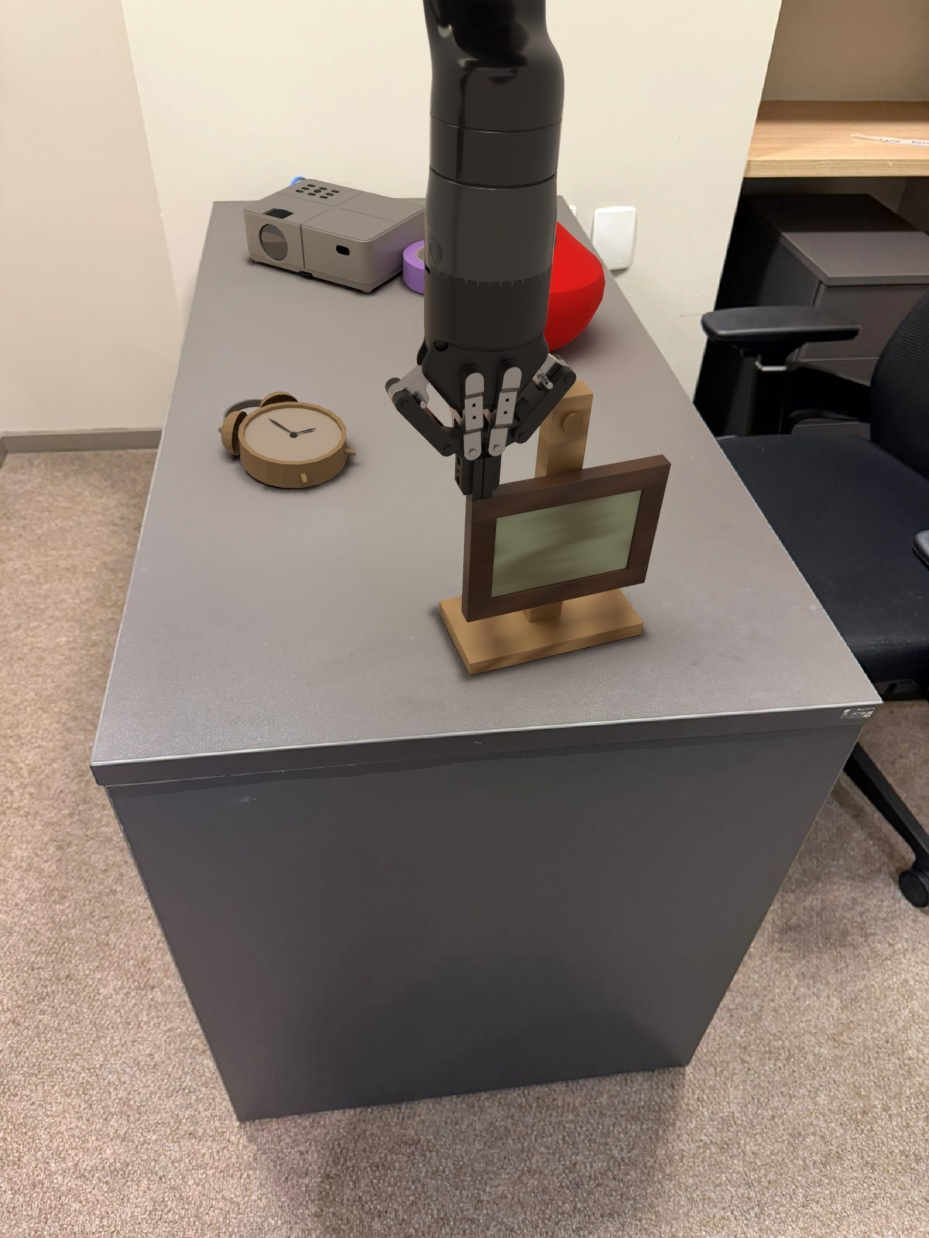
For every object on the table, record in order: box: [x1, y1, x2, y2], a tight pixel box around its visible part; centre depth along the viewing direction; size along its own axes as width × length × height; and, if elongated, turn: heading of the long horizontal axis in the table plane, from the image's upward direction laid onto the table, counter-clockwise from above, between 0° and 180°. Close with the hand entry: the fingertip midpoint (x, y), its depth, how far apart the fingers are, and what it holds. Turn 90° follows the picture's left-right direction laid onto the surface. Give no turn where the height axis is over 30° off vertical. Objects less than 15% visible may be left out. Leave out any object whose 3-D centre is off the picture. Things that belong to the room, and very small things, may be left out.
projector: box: [242, 178, 425, 294], centre depth 132 cm, size 17×22×8 cm
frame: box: [461, 453, 672, 623], centre depth 70 cm, size 16×1×12 cm, turn 110°
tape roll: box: [402, 240, 424, 295], centre depth 130 cm, size 12×12×4 cm
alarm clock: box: [217, 391, 357, 489], centre depth 96 cm, size 11×5×15 cm
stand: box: [438, 379, 644, 676], centre depth 71 cm, size 16×8×23 cm, turn 110°
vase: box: [544, 220, 606, 353], centre depth 112 cm, size 18×18×19 cm
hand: (476, 493), depth 64 cm, fingers closed
